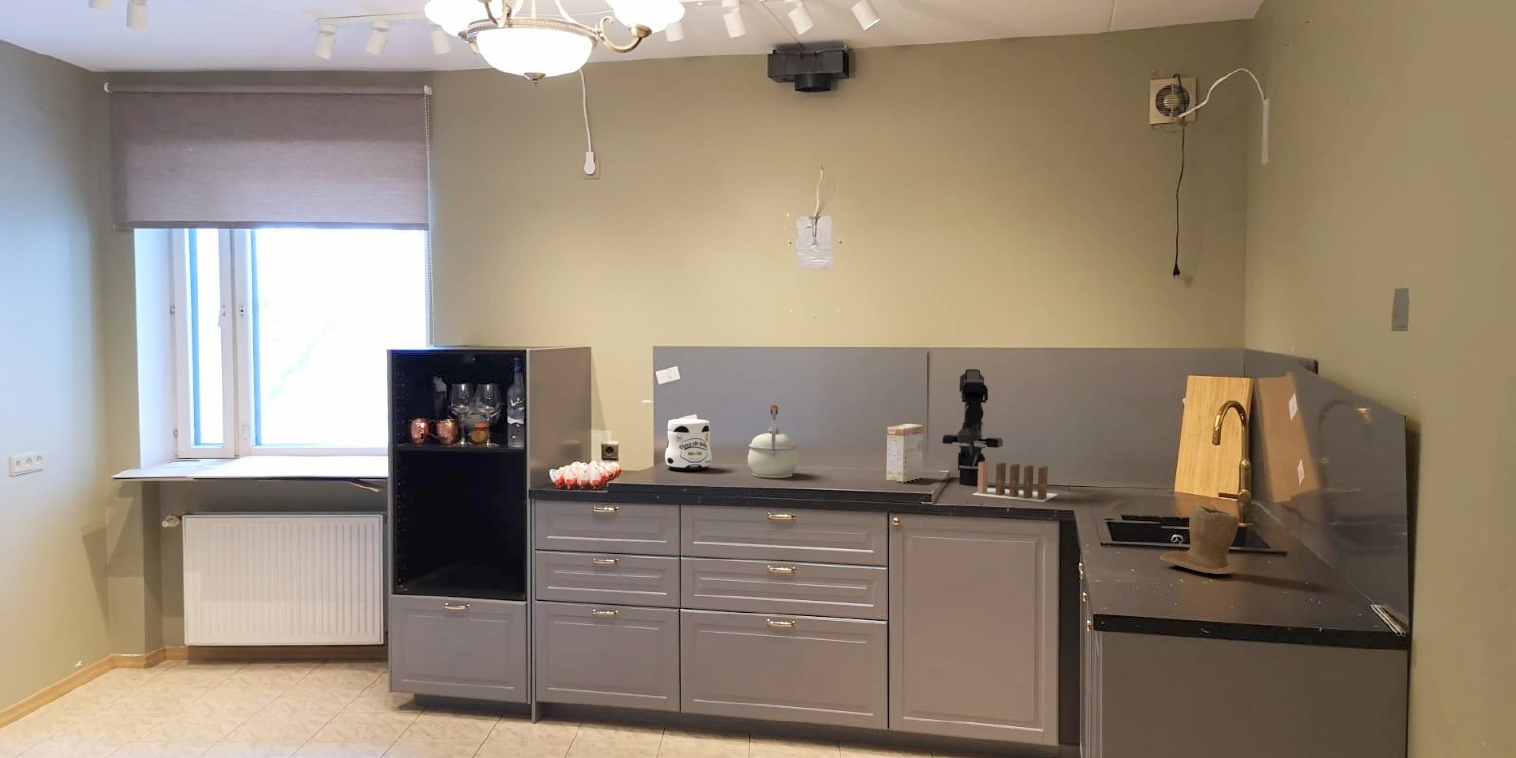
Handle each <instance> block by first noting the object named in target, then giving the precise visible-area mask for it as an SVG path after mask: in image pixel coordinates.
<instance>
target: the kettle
mask: <svg viewBox="0 0 1516 758" xmlns="http://www.w3.org/2000/svg"><path fill="white" fill-rule="evenodd" d="M769 410H770V412H769V413H770V414H771V426H770V427H769V429H768V432H767V433H761V434H759V435H757V436H755V437H754V438H753V439H752V440H751V443H749V444H748V447H749V450H748V455H747V464H748V467H749V468H750V470H751V471H752V475H753V476H755V477H758V478H765V479H785V478H790V477H792V476H793V472H794V471H795V470H796V469H797V467H798V465H799V454H798V451H797V449H798V447H799V446H798V445H797V444H796V441H795V440H794V439H793V438H792V437H791V436H790V435H787V434H785V433H779V431H780V429H779V428H778V427H777V425H776V424H777V415H778V414H779V411H778V410H779V409H778V406H777V405H776V404H774V405H771V406H770V409H769Z"/></svg>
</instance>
